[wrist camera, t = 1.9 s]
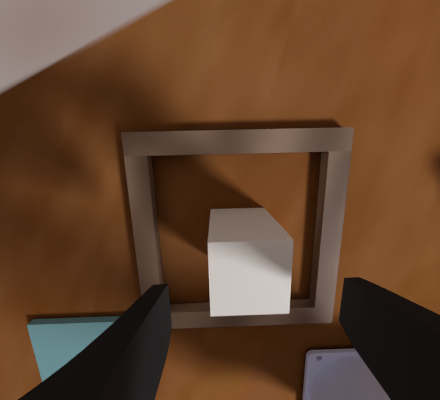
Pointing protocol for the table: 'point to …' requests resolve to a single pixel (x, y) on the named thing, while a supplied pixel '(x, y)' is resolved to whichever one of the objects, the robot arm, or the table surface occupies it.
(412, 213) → the table surface
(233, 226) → the cream block
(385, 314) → the robot arm
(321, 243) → the brown square frame
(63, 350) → the mat
